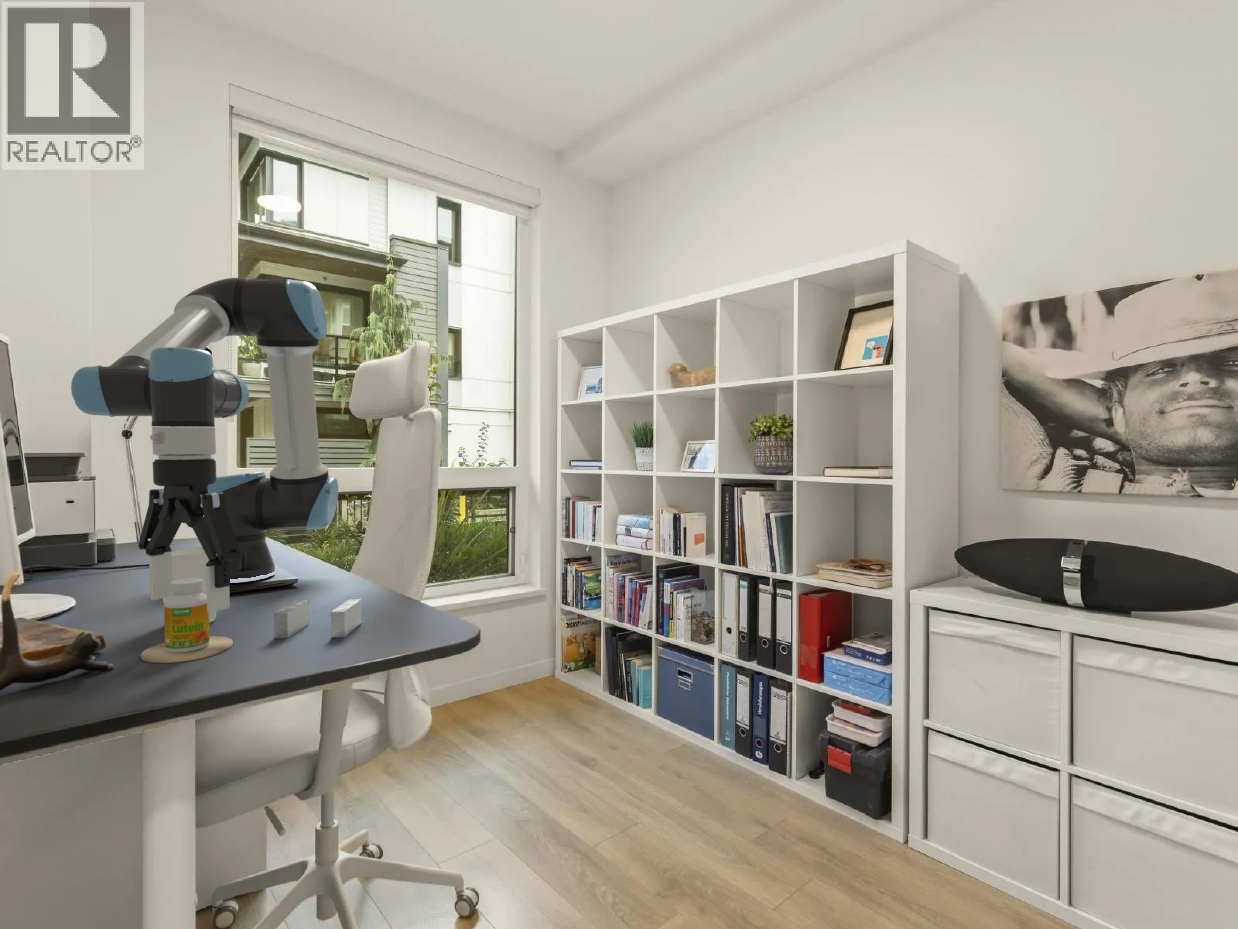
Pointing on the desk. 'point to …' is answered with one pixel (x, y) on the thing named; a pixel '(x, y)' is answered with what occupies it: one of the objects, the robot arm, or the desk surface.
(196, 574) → the cup
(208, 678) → the desk surface
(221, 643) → the coaster
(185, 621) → the supplement bottle
